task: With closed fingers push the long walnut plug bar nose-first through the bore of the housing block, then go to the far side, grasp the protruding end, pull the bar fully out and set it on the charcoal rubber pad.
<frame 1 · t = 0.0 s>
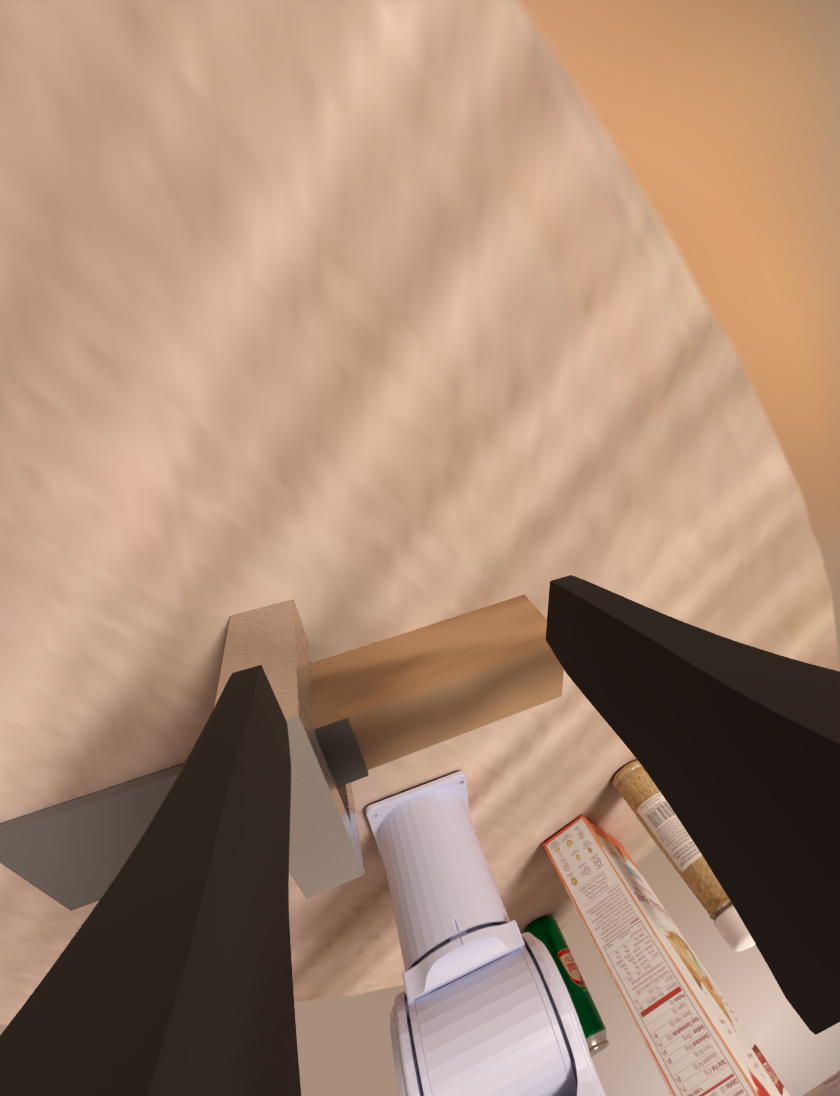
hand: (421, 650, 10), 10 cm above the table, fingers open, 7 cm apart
sprinkles bottle: (628, 769, 41), on the table
plug bar: (420, 653, 24), on the table
pad: (171, 819, 24), on the table
housing: (297, 695, 23), on the table
soda can: (537, 922, 56), on the table
cracker box: (582, 838, 47), on the table
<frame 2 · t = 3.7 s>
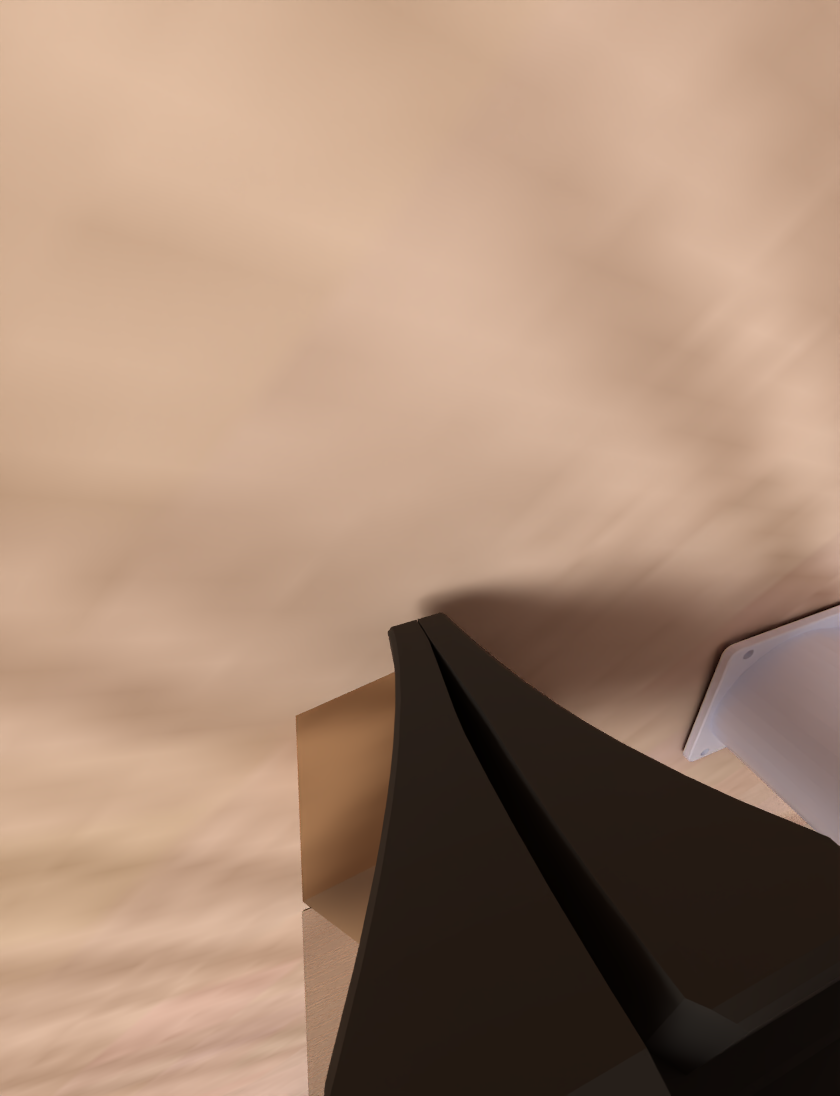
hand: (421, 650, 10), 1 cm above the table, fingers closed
plug bar: (427, 792, 16), on the table, touching gripper
housing: (447, 866, 19), on the table
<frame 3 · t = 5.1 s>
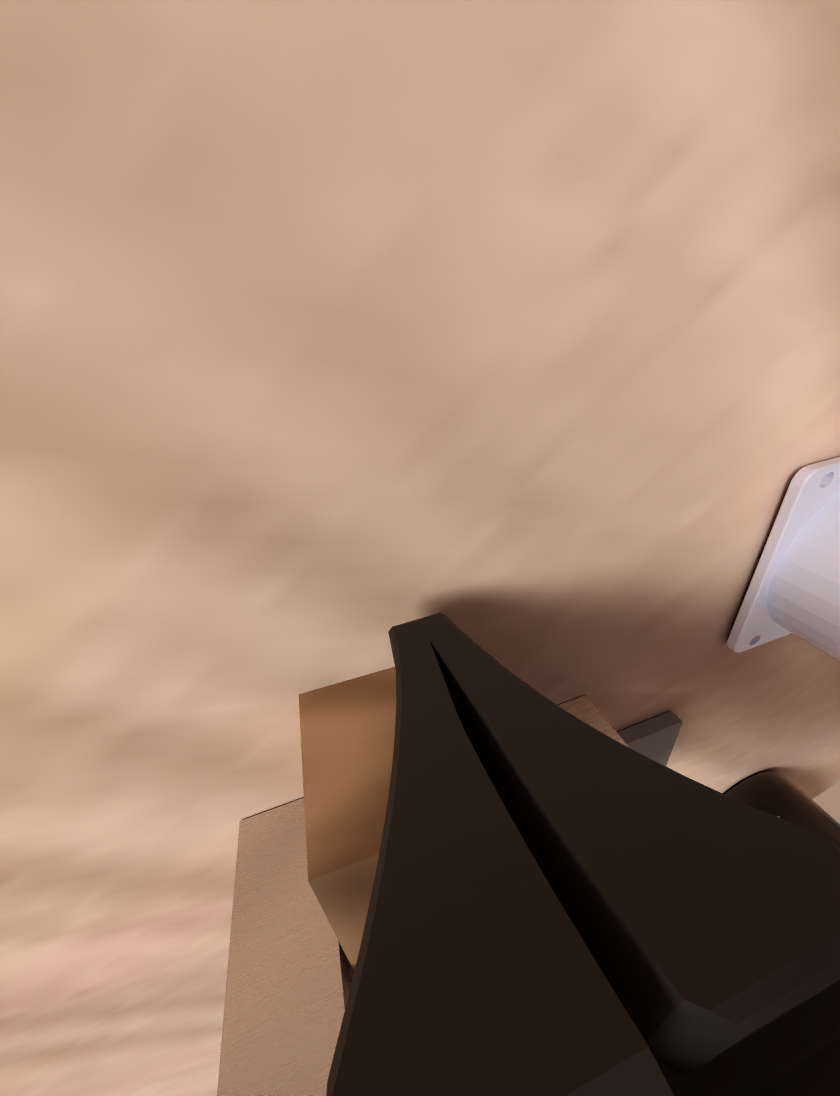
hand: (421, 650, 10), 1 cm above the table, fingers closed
supplement bottle: (734, 796, 28), on the table
plug bar: (401, 799, 15), on the table, touching gripper
pad: (571, 827, 21), on the table
housing: (432, 775, 15), on the table
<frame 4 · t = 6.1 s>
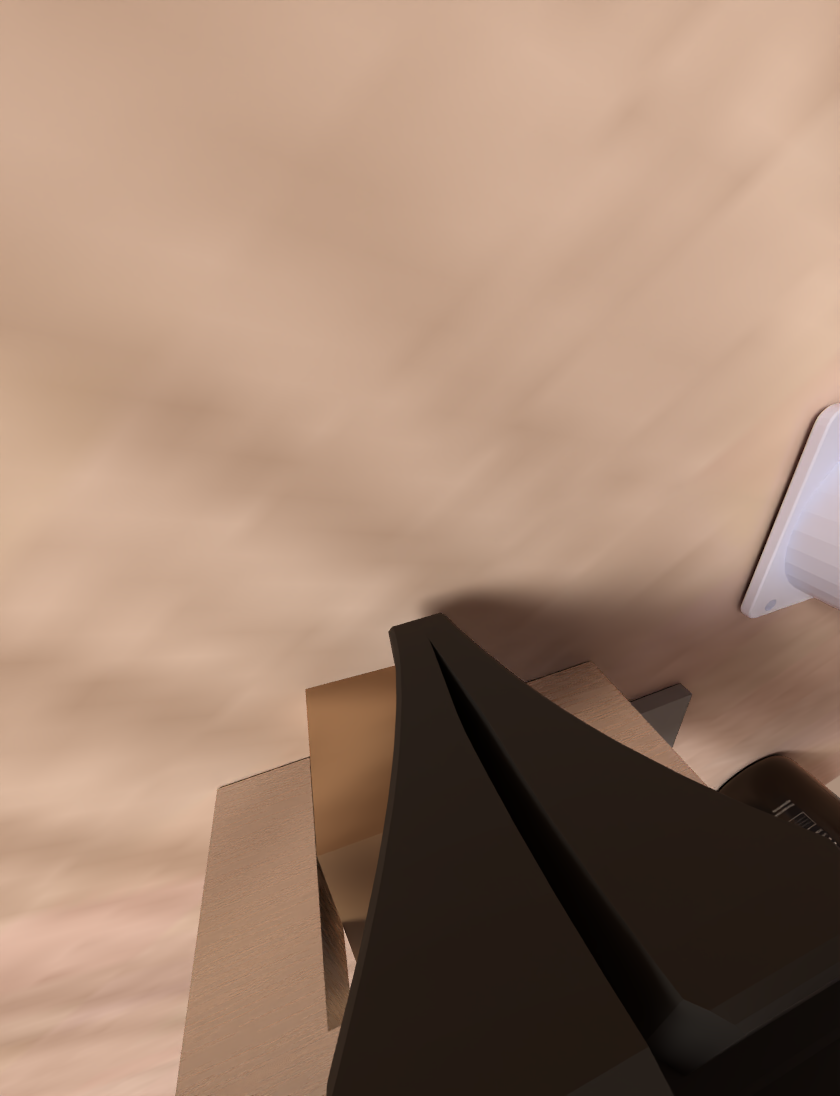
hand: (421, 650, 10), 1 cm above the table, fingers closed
supplement bottle: (742, 782, 27), on the table
plug bar: (399, 791, 15), on the table
pad: (574, 809, 20), on the table
housing: (427, 745, 14), on the table
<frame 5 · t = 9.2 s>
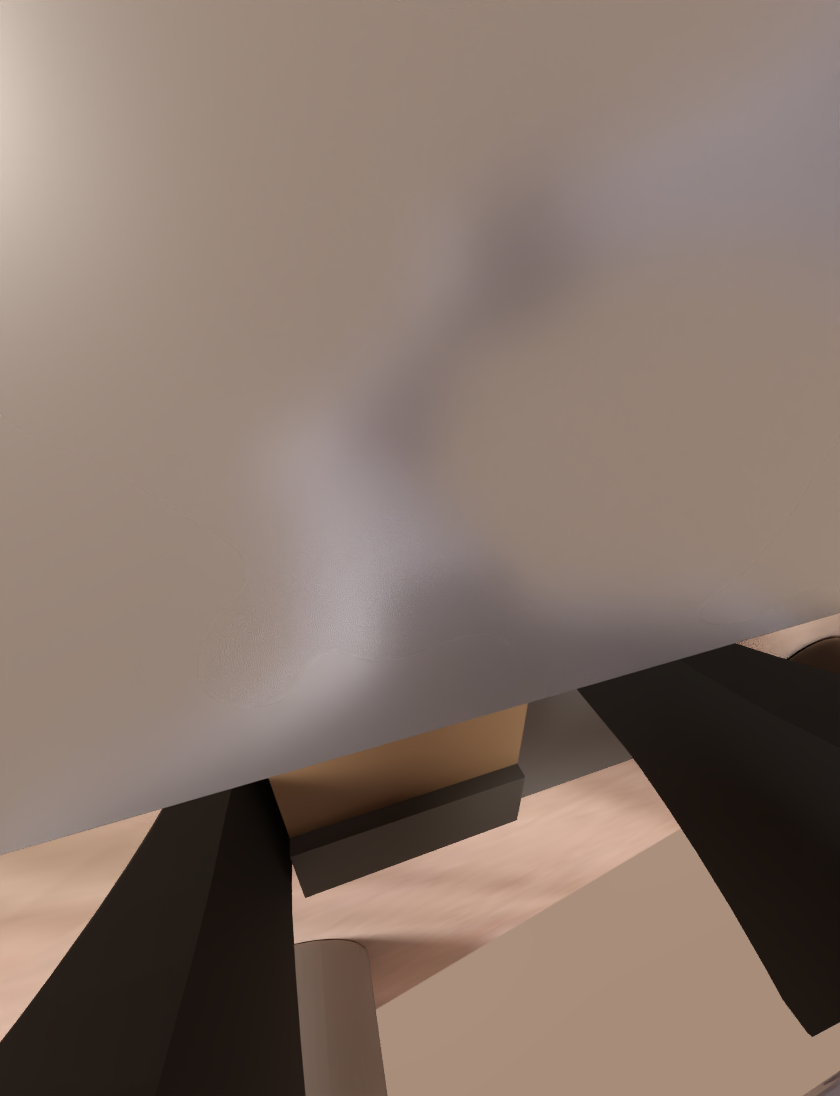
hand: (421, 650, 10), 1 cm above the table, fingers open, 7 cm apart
supplement bottle: (789, 679, 21), on the table
coffee mug: (241, 988, 19), on the table
plug bar: (351, 485, 9), on the table
pad: (598, 641, 14), on the table
housing: (394, 351, 8), on the table
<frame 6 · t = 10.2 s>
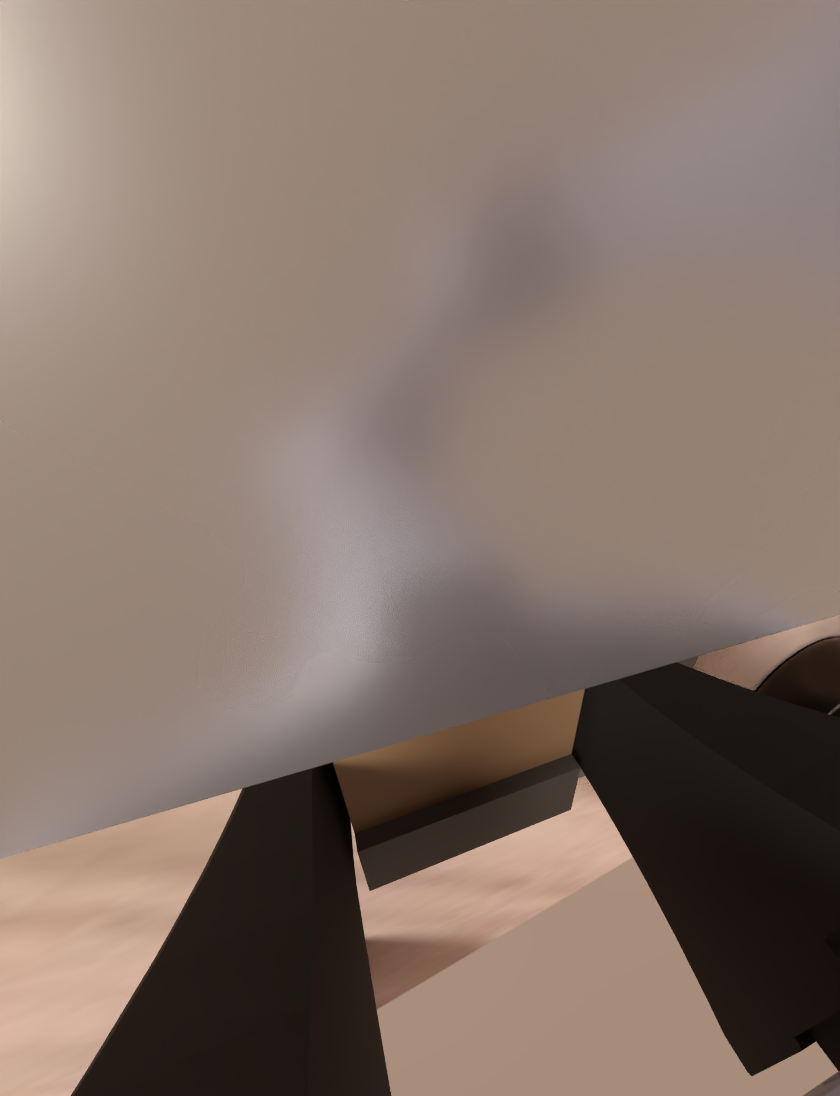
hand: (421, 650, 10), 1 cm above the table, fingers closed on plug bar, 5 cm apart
supplement bottle: (789, 680, 21), on the table
plug bar: (390, 484, 9), on the table, touching gripper
housing: (394, 351, 8), on the table
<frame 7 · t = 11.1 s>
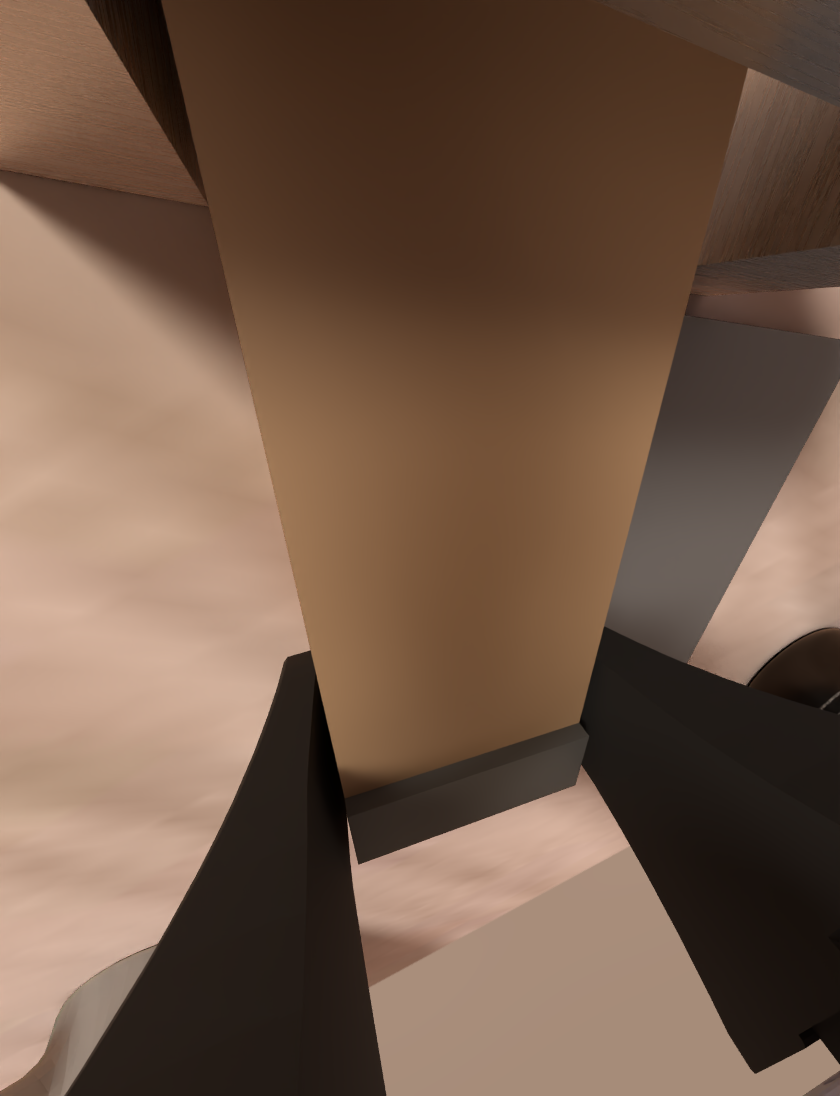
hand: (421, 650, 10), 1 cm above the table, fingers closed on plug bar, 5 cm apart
supplement bottle: (784, 672, 21), on the table
coffee mug: (167, 976, 17), on the table
plug bar: (393, 434, 8), on the table, touching gripper
pad: (613, 586, 13), on the table
housing: (451, 134, 6), on the table
when the fingers open (2 cm above the table, at t = 15.1 s): plug bar stays where it is, resting on pad.
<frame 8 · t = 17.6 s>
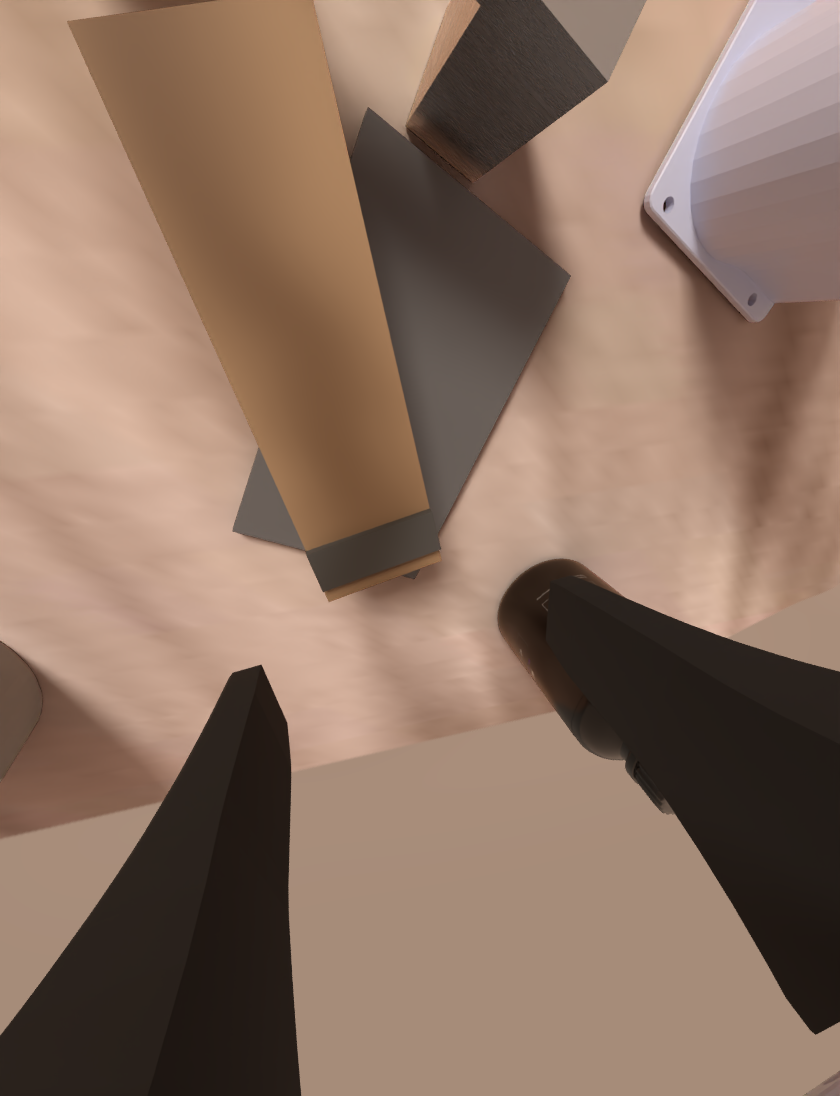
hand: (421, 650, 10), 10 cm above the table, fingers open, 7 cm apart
supplement bottle: (540, 599, 26), on the table
plug bar: (311, 373, 15), point 1 cm above the table, touching pad
pad: (394, 404, 17), on the table
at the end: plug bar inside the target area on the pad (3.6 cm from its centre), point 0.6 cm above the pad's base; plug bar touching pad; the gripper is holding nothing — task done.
